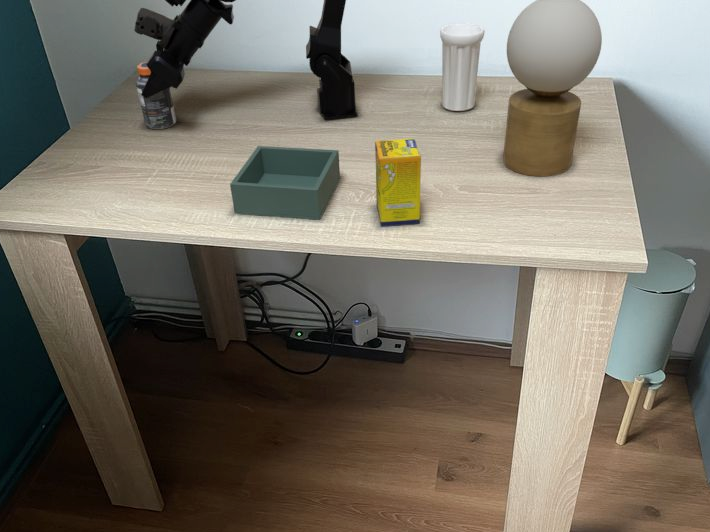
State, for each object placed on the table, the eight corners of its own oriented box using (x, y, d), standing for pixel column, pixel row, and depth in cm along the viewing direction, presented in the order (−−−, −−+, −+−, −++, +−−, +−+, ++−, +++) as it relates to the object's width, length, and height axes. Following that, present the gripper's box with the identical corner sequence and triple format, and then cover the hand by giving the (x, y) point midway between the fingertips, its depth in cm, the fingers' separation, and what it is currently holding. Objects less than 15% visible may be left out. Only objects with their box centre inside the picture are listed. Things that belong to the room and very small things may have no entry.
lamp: (505, 134, 131) (520, -18, 115) (586, 142, 127) (613, -14, 111) (487, 171, 120) (501, 8, 104) (576, 181, 116) (604, 14, 100)
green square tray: (261, 173, 122) (257, 145, 119) (340, 178, 120) (338, 150, 116) (234, 213, 112) (229, 184, 109) (319, 220, 110) (317, 189, 106)
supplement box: (375, 207, 112) (374, 140, 105) (414, 204, 112) (415, 137, 105) (379, 227, 107) (378, 158, 100) (420, 224, 107) (421, 154, 100)
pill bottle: (182, 119, 142) (170, 60, 134) (166, 131, 137) (153, 71, 130) (155, 116, 143) (142, 57, 136) (139, 128, 139) (125, 68, 132)
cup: (430, 110, 140) (432, 32, 131) (448, 96, 146) (451, 20, 136) (468, 117, 137) (473, 38, 128) (486, 102, 142) (492, 25, 133)
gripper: (163, -22, 133) (117, 44, 140) (147, 6, 118) (97, 79, 125) (213, 21, 138) (167, 83, 145) (203, 53, 124) (152, 120, 130)
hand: (146, 90), depth 136 cm, fingers closed on pill bottle, 6 cm apart
